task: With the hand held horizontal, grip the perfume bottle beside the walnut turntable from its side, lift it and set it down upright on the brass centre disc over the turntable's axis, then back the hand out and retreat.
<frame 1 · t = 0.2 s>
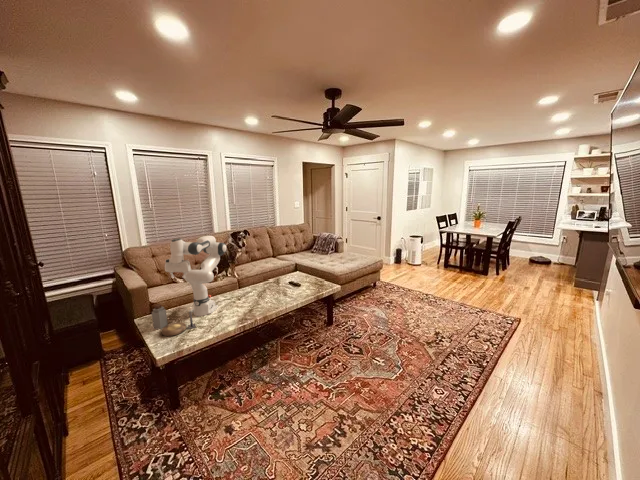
hand: (178, 277, 200), 40 cm above the table, tool pointing down, fingers open, 8 cm apart
perfume bottle: (160, 326, 205), on the table
dial indicator: (192, 327, 204), on the table
turntable: (174, 328, 198), point 2 cm above the table, hinge at 0.0°
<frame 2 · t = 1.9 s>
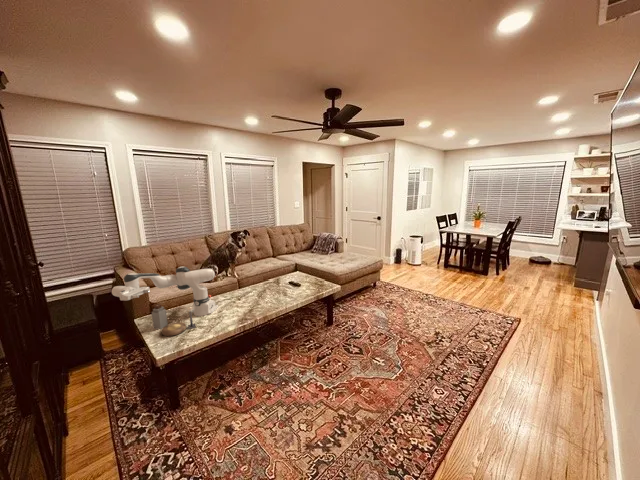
hand: (144, 294, 204), 26 cm above the table, tool horizontal, fingers open, 8 cm apart
nothing on the table moved.
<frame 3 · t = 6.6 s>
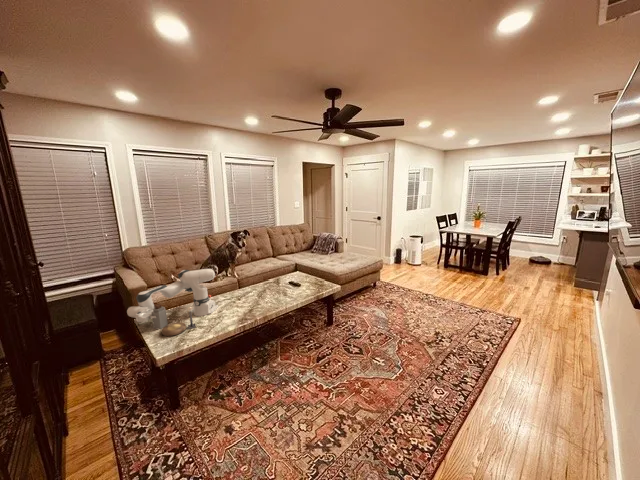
hand: (160, 314, 203), 10 cm above the table, tool horizontal, fingers closed on perfume bottle, 5 cm apart
perfume bottle: (160, 326, 205), on the table, touching gripper
everything else where it was.
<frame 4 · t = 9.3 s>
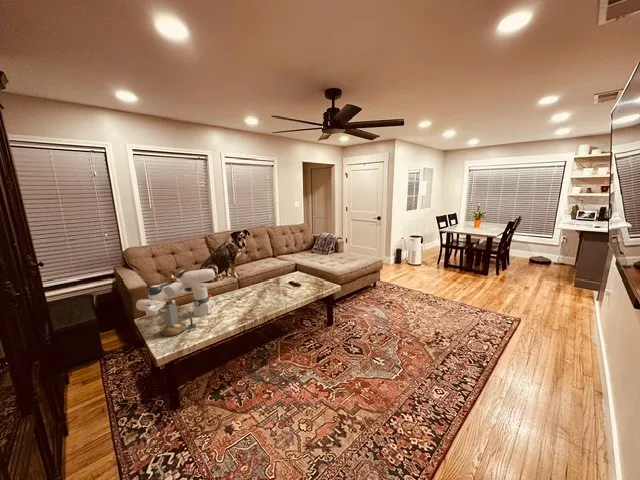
hand: (170, 308, 195), 19 cm above the table, tool horizontal, fingers closed on perfume bottle, 5 cm apart
perfume bottle: (171, 323, 198), point 6 cm above the table, touching gripper
everything else where it was.
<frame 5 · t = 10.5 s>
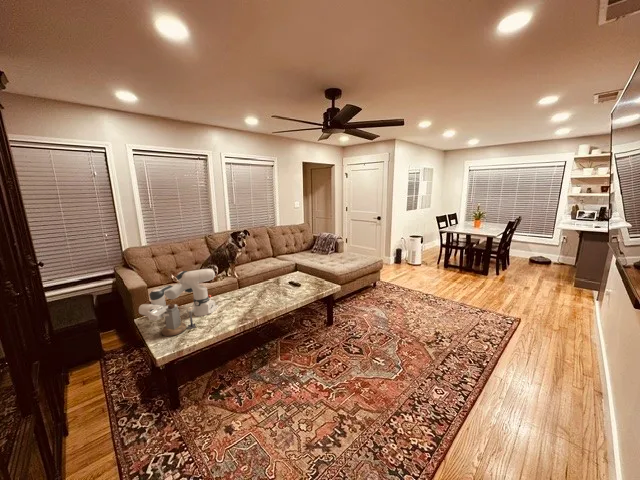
hand: (173, 312, 195), 15 cm above the table, tool horizontal, fingers closed on perfume bottle, 5 cm apart
perfume bottle: (173, 327, 198), point 3 cm above the table, touching gripper, turntable
turntable: (174, 328, 198), point 2 cm above the table, hinge at 0.0°, touching perfume bottle
when the fingers open (15 cm above the table, at t = 11.0 s): perfume bottle stays where it is, resting on turntable.
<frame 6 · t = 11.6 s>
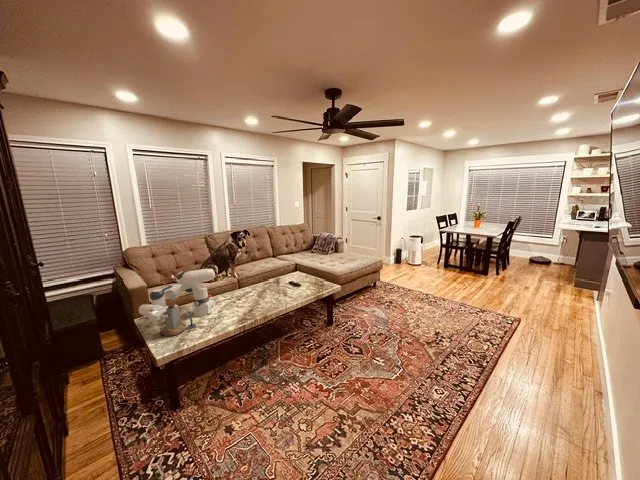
hand: (173, 313, 195), 15 cm above the table, tool horizontal, fingers open, 8 cm apart
perfume bottle: (173, 327, 198), point 3 cm above the table, touching turntable
everything else where it was.
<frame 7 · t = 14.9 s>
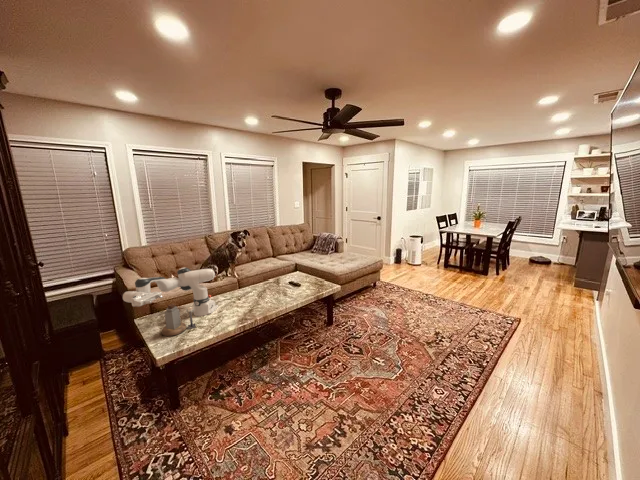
hand: (156, 299, 196), 25 cm above the table, tool horizontal, fingers open, 8 cm apart
nothing on the table moved.
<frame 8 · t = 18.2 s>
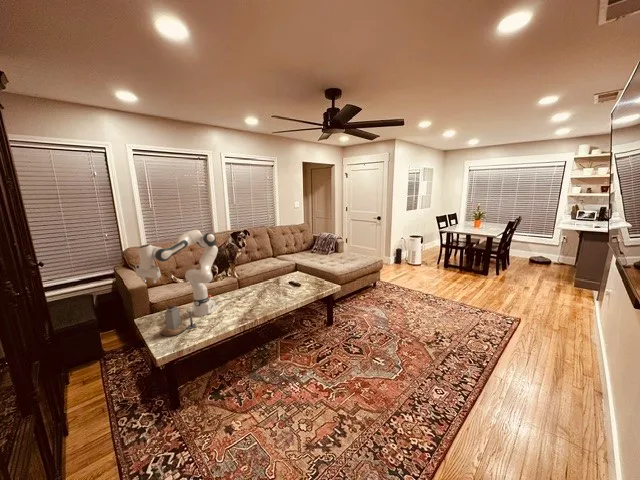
hand: (149, 282, 204), 35 cm above the table, tool pointing down, fingers open, 8 cm apart
nothing on the table moved.
at the end: perfume bottle 0.1 cm off-centre on the turntable, point 3.2 cm above the turntable's base; perfume bottle tilted 0°; the gripper is holding nothing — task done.
